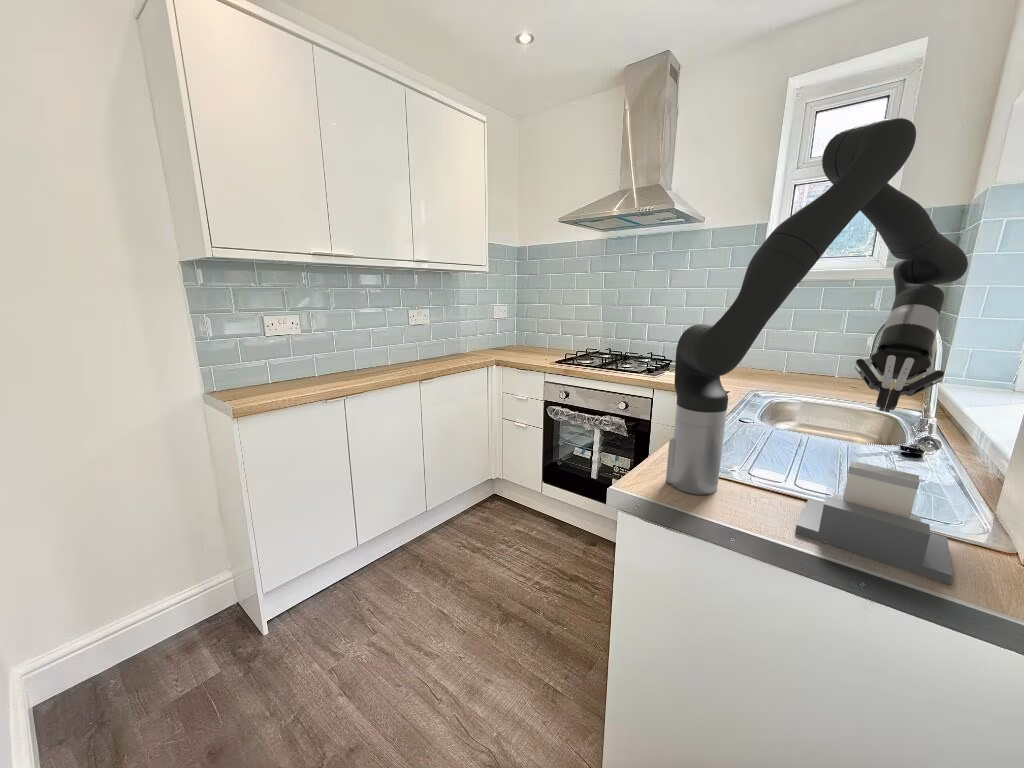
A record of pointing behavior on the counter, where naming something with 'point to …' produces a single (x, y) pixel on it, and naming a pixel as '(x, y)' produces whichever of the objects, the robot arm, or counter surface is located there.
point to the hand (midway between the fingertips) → (884, 409)
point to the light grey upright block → (881, 488)
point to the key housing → (878, 536)
